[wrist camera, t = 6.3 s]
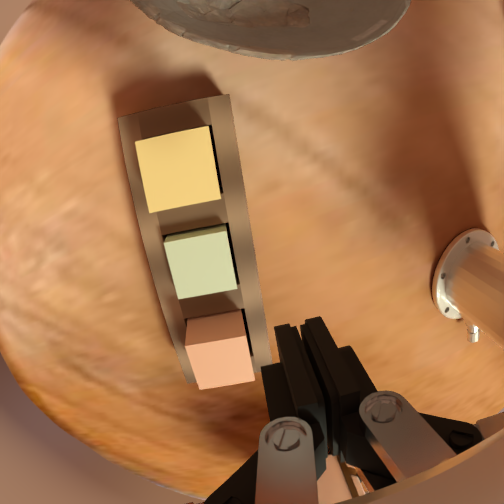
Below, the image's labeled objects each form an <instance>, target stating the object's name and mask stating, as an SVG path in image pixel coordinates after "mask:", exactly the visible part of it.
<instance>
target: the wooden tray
mask: <svg viewBox="0 0 504 504" xmlns="http://www.w3.org/2000/svg"><path fill="white" fill-rule="evenodd" d="M118 125H119V131H120V137H121V142H122V148H123V153H124V159H125V164H126V169H127V174H128V179H129V183H130V188H131V193H132V197H133V202H134V206H135V211H136V215H137V219H138V223H139V227H140V231H141V235H142V239H143V243H144V247H145V251H146V255H147V258H148V262H149V266H150V269H151V273H152V276H153V280H154V283H155V287H156V290H157V294H158V297H159V300H160V304H161V307H162V310H163V313H164V317H165V320H166V323H167V326H168V329H169V332H170V335H171V338H172V341H173V344H174V347H175V350H176V353H177V356H178V359H179V361H180V364H181V367H182V370H183V373H184V375H185V378H186V381H187V383H196V382H197V381H196V378H195V375H194V372H193V369H192V366H191V363H190V360H189V357H188V354H187V351H186V348H185V339H186V330H187V320H188V318H191V317H197V316H203V315H209V314H215V313H220V312H226V311H231V310H237V309H242V308H244V309H245V315H246V320H247V325H248V330H249V334H248V335H246V337H247V342H248V347H249V352H250V357H251V362H252V367H253V372H254V373H256V372H261V367H260V366H265V365H270V364H272V357H271V351H270V345H269V338H268V332H267V326H266V319H265V313H264V307H263V301H262V294H261V288H260V282H259V275H258V269H257V263H256V257H255V250H254V244H253V238H252V232H251V225H250V219H249V213H248V207H247V200H246V194H245V188H244V182H243V176H242V169H241V163H240V157H239V151H238V145H237V138H236V132H235V126H234V120H233V114H232V108H231V102H230V95H229V94H226V95H220V96H213V97H208V98H202V99H197V100H191V101H186V102H181V103H176V104H172V105H167V106H163V107H158V108H154V109H150V110H146V111H142V112H138V113H134V114H130V115H126V116H123V117H119V118H118ZM205 126H209V127H212V130H213V136H214V142H215V148H216V154H217V160H218V166H219V172H220V177H221V183H222V187H219V189H220V195H221V199H218V200H213V201H207V202H202V203H197V204H192V205H187V206H182V207H177V208H172V209H167V210H162V211H157V212H153V213H149V209H148V205H147V200H146V196H145V191H144V186H143V181H142V176H141V171H140V166H139V161H138V156H137V151H136V145H135V142H136V141H140V140H144V139H148V138H153V137H157V136H161V135H166V134H170V133H175V132H180V131H185V130H190V129H195V128H200V127H205ZM227 222H228V223H229V228H230V234H231V240H232V245H233V251H234V256H235V261H236V267H235V268H234V273H235V279H236V284H237V289H234V290H228V291H223V292H217V293H212V294H206V295H201V296H195V297H189V298H184V299H178V296H177V293H176V289H175V285H174V281H173V278H172V274H171V270H170V266H169V262H168V258H167V254H166V250H165V246H164V241H165V239H166V237H167V235H168V234H169V233H175V232H180V231H185V230H190V229H195V228H200V227H206V226H211V225H216V224H222V223H227Z"/></svg>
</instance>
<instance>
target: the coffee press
mask: <svg viewBox="0 0 504 504" xmlns="http://www.w3.org/2000/svg"><path fill="white" fill-rule="evenodd" d="M361 482H362V480H361V479H360V477H359V475H358V474H357V472H356V469H354V467H353V466H351V465H349V464H346V462H342V463H340V460H339V457H338V455H336V456H332V454H331V452H330V453H329V454H328V458H326V470H325V471H324V473H323V474H322V475H321V477H320V478H319V479H318V481H317V488H318V501H319V504H334V503H338V502H342V501H345V500H348V499H352V498H355V497H358V496H361V495H364V494H365V492H364V490H363V487H362V485H361Z"/></svg>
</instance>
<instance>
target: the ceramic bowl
mask: <svg viewBox="0 0 504 504" xmlns="http://www.w3.org/2000/svg"><path fill="white" fill-rule="evenodd" d="M130 1H131V2H133V3H134V5H135V6H137V7H138V8H139V9H140V10H142V11H143V12H144V13H145V14H146V15H147V16H148V17H149V18H151V19H153V20H155V21H156V23H157V24H159V25H162V26H163V27H164V28H165V29H166V30H168V31H170V32H172V33H174V34H176V35H178V36H180V37H183V38H186V39H189V40H191V41H194V42H197V43H201V44H204V45H208V46H211V47H215V48H218V49H222V50H226V51H229V52H232V53H236V54H240V55H244V56H250V57H257V58H263V59H269V60H302V59H311V58H321V57H328V56H334V55H340V54H343V53H346V52H349V51H352V50H356V49H358V48H360V47H362V46H364V45H367V44H369V43H371V42H373V41H375V40H377V39H378V38H380V37H382V36H383V35H385V34H387V33H388V32H389V31H390V30H391V29H393V28H394V27H395V26H396V25H397V23H398V22H399V21H400V19H401V18H402V17H403V15H404V14H405V13H406V11H407V9H408V7H409V6H410V2H411V0H130Z"/></svg>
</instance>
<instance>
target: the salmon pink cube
mask: <svg viewBox="0 0 504 504" xmlns="http://www.w3.org/2000/svg"><path fill="white" fill-rule="evenodd" d="M185 348H186V351H187V354H188V357H189V360H190V363H191V366H192V369H193V372H194V375H195V378H196V381H197V384H198V386H199V389H200V390H201V389H208V388H215V387H221V386H227V385H233V384H239V383H245V382H250V381H255V377H254V372H253V367H252V362H251V357H250V352H249V347H248V342H247V337H246V332H245V327H244V322H243V317H242V312H241V309H237V310H231V311H226V312H220V313H215V314H209V315H203V316H197V317H191V318H188V320H187V330H186V339H185Z"/></svg>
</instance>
